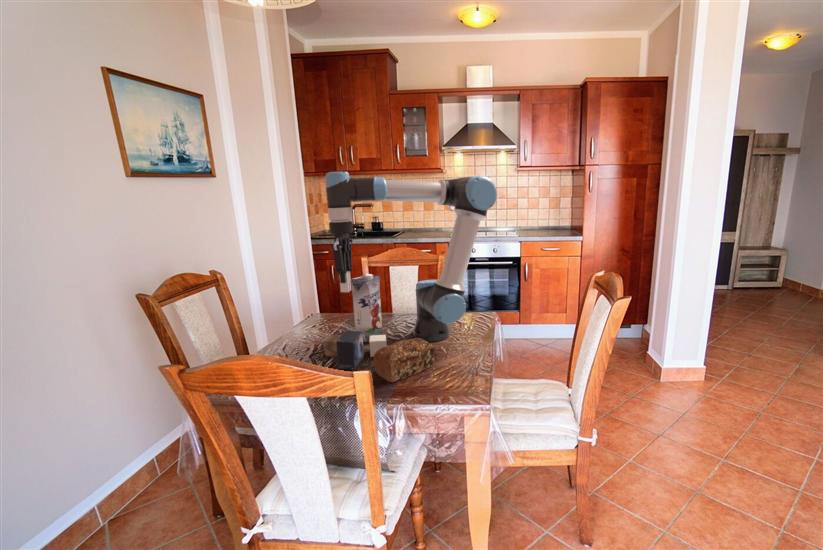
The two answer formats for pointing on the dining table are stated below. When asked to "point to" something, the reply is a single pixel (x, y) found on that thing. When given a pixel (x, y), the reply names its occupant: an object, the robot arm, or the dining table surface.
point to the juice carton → (367, 305)
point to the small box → (350, 350)
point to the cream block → (376, 343)
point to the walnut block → (331, 345)
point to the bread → (403, 359)
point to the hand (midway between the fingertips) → (346, 291)
